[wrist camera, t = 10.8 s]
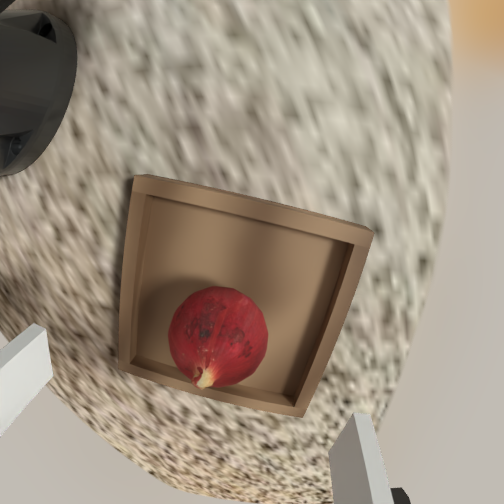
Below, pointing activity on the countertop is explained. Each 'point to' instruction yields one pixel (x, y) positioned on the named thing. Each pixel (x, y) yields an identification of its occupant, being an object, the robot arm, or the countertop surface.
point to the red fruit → (217, 337)
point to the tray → (237, 284)
